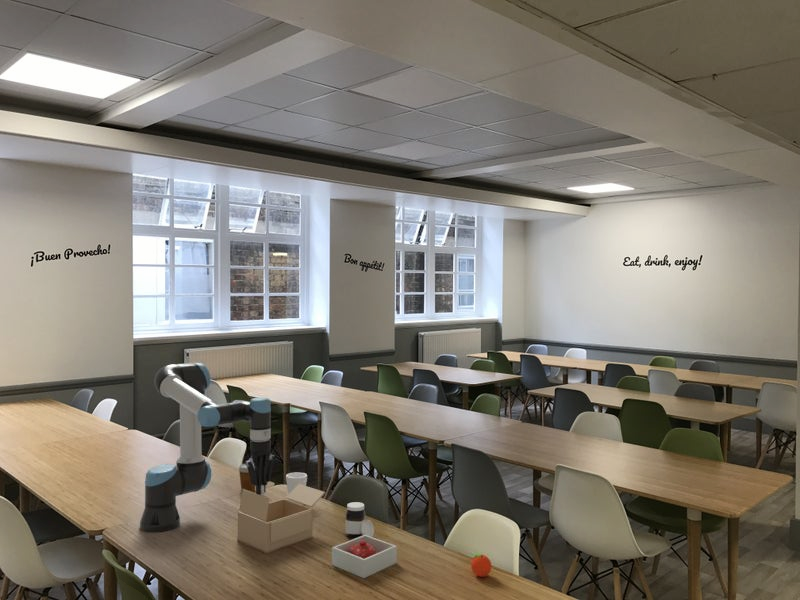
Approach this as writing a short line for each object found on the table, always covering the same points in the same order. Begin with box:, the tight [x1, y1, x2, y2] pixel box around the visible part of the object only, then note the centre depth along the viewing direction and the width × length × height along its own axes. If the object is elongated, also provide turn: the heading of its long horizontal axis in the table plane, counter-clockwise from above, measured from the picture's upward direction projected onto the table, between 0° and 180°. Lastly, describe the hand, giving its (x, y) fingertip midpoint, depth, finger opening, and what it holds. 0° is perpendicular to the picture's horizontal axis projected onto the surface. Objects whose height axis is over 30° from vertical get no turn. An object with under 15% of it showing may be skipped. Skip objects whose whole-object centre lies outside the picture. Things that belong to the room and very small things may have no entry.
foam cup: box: [285, 471, 308, 506], centre depth 282 cm, size 10×9×13 cm
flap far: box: [285, 484, 326, 508], centre depth 252 cm, size 8×16×1 cm, turn 50°
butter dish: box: [349, 540, 377, 559], centre depth 219 cm, size 12×12×8 cm
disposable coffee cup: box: [238, 463, 256, 493], centre depth 301 cm, size 10×10×12 cm
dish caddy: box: [331, 535, 398, 579], centre depth 220 cm, size 17×16×6 cm
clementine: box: [470, 553, 492, 578], centre depth 212 cm, size 8×7×7 cm
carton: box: [236, 498, 314, 554], centre depth 241 cm, size 22×19×11 cm
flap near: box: [238, 489, 271, 521], centre depth 234 cm, size 8×16×1 cm
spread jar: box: [345, 501, 375, 538], centre depth 246 cm, size 12×11×12 cm
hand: (260, 502), depth 235 cm, fingers closed
